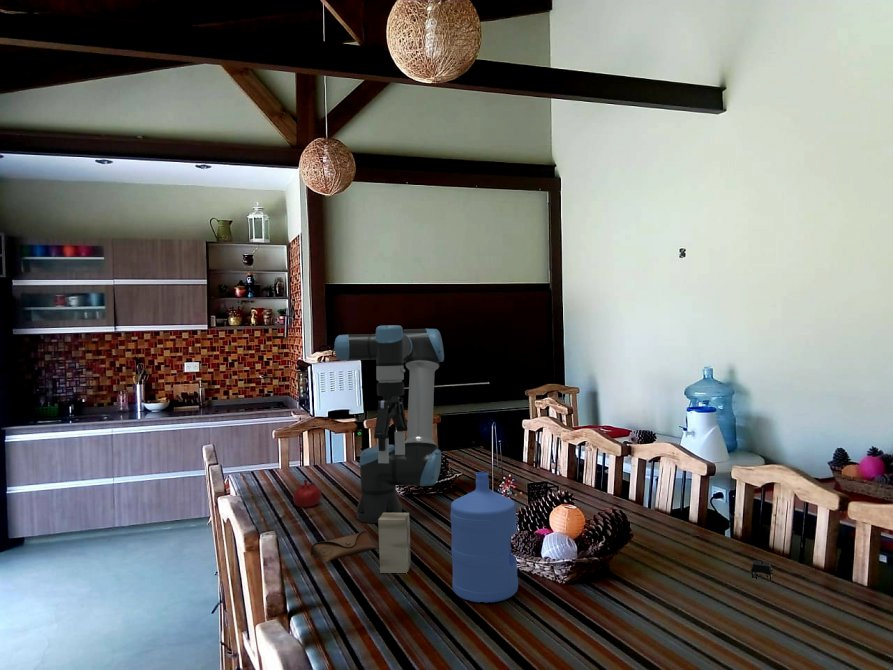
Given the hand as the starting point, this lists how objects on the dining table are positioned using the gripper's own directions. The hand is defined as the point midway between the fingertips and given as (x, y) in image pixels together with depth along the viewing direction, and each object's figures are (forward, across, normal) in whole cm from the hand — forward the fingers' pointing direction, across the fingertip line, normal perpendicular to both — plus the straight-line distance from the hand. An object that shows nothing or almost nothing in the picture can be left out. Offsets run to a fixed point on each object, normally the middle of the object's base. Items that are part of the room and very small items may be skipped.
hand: (392, 458), depth 177 cm
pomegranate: (+25, +43, +48) cm, 69 cm away
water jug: (+28, -16, -29) cm, 43 cm away
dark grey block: (+28, +2, -93) cm, 97 cm away
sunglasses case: (+28, +2, +15) cm, 32 cm away
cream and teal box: (+27, -8, -3) cm, 29 cm away
